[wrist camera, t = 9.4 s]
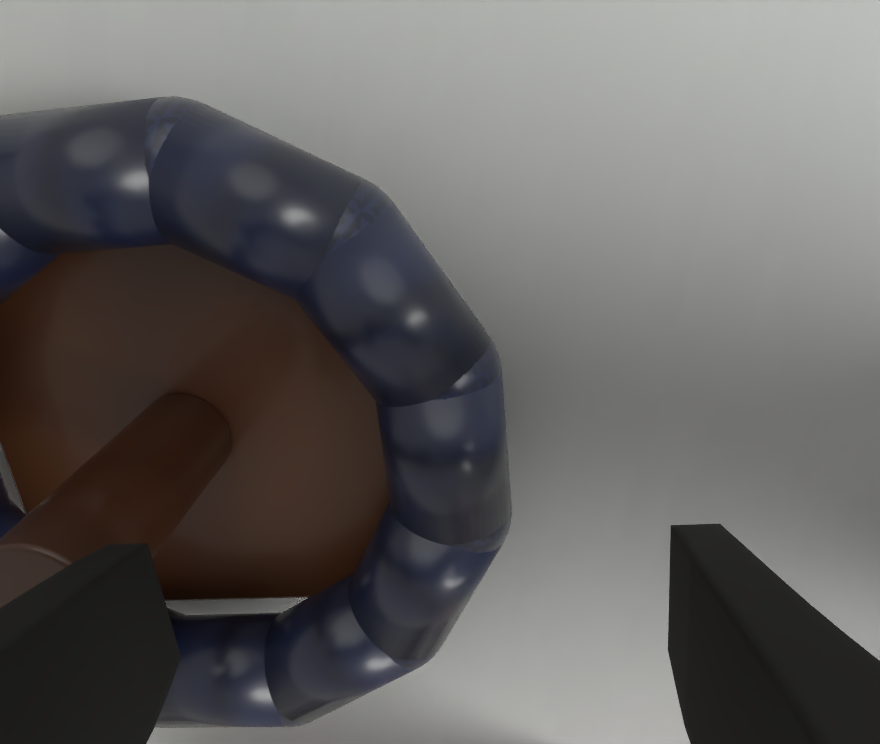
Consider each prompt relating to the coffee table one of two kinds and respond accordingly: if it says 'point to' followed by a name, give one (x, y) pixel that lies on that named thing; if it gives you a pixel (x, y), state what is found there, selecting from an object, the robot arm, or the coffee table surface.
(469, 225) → the coffee table surface
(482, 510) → the dark blue ring
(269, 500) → the wooden ring toss peg
